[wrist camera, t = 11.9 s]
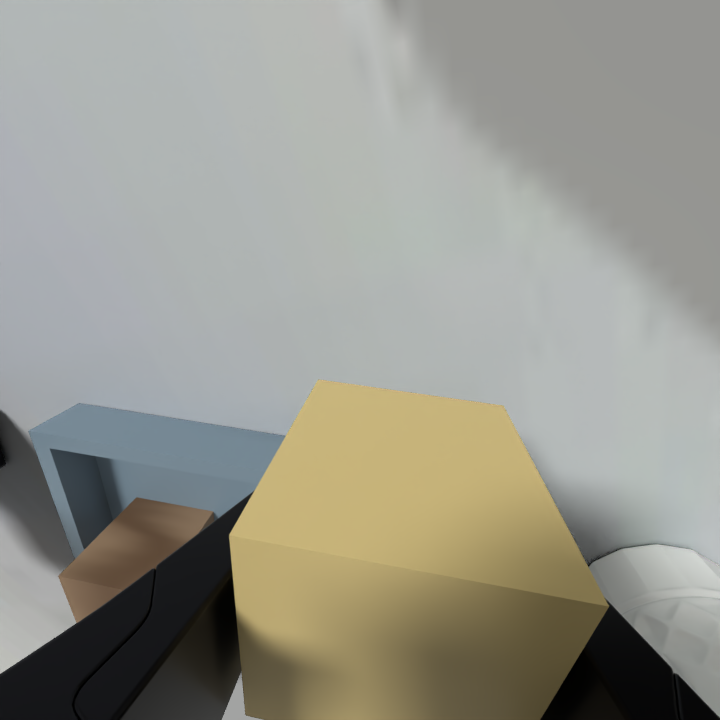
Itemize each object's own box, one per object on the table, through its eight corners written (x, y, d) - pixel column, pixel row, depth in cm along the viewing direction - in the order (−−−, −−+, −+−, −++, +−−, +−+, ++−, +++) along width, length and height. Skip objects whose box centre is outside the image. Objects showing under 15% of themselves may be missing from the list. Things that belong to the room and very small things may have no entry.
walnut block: (148, 553, 20) (82, 637, 16) (136, 497, 18) (58, 576, 14) (219, 566, 20) (169, 657, 16) (213, 511, 18) (155, 596, 14)
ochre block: (312, 512, 10) (245, 715, 6) (318, 379, 8) (228, 534, 4) (463, 539, 10) (505, 777, 5) (503, 405, 8) (609, 606, 4)
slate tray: (131, 590, 23) (100, 630, 21) (79, 403, 17) (28, 430, 15) (419, 650, 21) (421, 702, 19) (471, 465, 15) (482, 507, 13)
